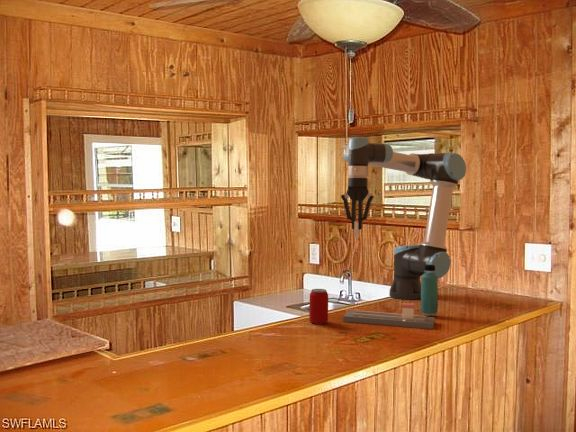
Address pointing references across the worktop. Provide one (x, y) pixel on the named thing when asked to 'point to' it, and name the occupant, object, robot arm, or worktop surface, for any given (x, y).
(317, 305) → the beverage can
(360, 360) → the worktop surface
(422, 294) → the beverage bottle
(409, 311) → the fader tab
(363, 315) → the board
